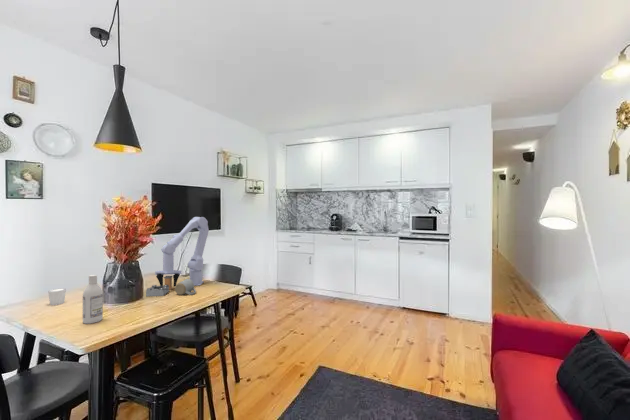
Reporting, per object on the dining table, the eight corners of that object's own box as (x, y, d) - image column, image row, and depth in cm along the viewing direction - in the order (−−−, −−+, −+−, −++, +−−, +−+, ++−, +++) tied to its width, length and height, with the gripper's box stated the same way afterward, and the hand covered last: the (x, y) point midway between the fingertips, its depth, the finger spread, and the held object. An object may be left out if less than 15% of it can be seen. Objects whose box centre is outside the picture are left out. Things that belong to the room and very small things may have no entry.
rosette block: (152, 291, 172) (152, 285, 172) (168, 291, 173) (169, 284, 173) (146, 296, 163) (146, 289, 163) (163, 295, 164) (163, 288, 164)
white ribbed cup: (49, 306, 145) (50, 292, 145) (46, 303, 150) (46, 290, 150) (67, 303, 151) (67, 289, 151) (63, 300, 155) (64, 287, 155)
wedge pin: (166, 288, 179) (166, 275, 179) (172, 288, 179) (172, 275, 179) (163, 290, 175) (164, 277, 175) (170, 290, 176) (170, 277, 176)
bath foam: (106, 317, 131) (106, 273, 131) (96, 323, 124) (96, 276, 124) (89, 318, 130) (89, 273, 130) (78, 324, 123) (78, 277, 123)
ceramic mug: (173, 295, 166) (173, 281, 165) (182, 291, 174) (183, 278, 174) (190, 296, 163) (190, 283, 163) (198, 292, 172) (199, 279, 171)
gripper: (152, 265, 172) (152, 288, 172) (178, 264, 174) (178, 287, 174) (157, 263, 179) (157, 285, 179) (182, 262, 181) (182, 284, 181)
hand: (168, 286), depth 177 cm, fingers open, 7 cm apart
